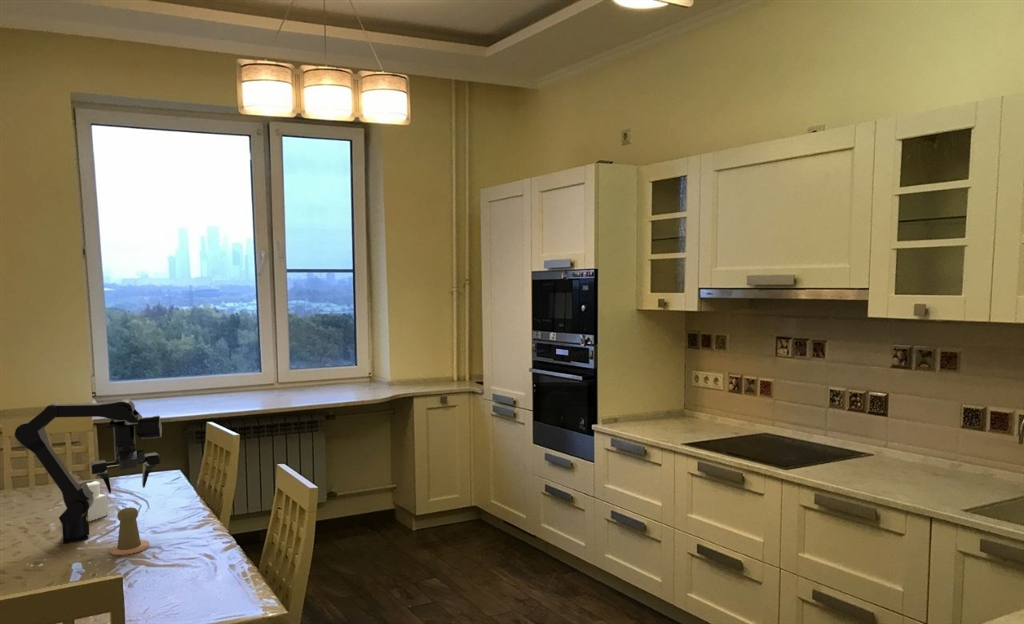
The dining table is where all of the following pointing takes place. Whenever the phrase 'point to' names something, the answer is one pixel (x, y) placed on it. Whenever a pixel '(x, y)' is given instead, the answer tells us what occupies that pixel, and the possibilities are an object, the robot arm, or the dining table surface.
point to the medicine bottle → (96, 502)
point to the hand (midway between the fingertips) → (127, 490)
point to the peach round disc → (116, 551)
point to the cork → (128, 529)
